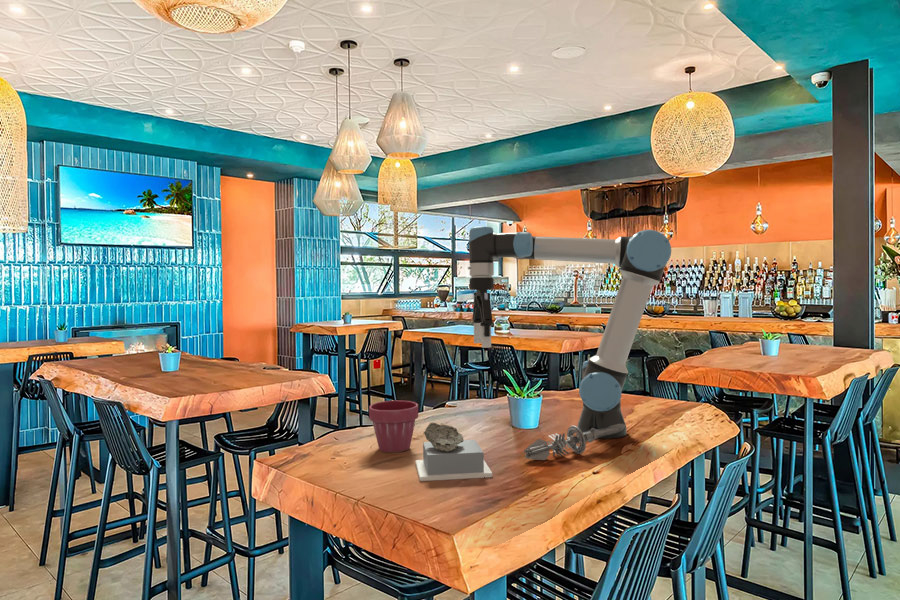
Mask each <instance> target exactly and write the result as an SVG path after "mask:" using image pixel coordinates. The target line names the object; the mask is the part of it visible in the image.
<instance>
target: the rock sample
mask: <svg viewBox="0 0 900 600" xmlns="http://www.w3.org/2000/svg"><path fill="white" fill-rule="evenodd" d="M423 434H424V436H425V438H426V440H427V442H431V443H432V445H433V447H435V448H436V449H438V450H441V451H445V452H449V451H453V450H455V449H456V448H457V446H458V444H460V443H461V442H463V441H464V440H465V439H464V437H463V436H464V435H463V434H461V433H460V432H459V431H458V428H457V427H454V426H452V425H447V424H439V423H438V422H437V423H436V422H433V421H432V422H430V423H429V424H428V425H427V426H426V428H425V429H424V431H423Z"/></svg>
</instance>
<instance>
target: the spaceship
mask: <svg viewBox="0 0 900 600" xmlns="http://www.w3.org/2000/svg"><path fill="white" fill-rule="evenodd" d="M625 424H626V423H625ZM625 424H616V425H612V426H610V427H608V428H603V429H595V428H591V430H590V431H588V432H583V433H582V431H581V430H580V429H579V428H578V425H577V426H576V425H570V426H569V427H568V428H567V432H566V433H562V434H558V433H557V432H556V433H555V434H554V433H553V434H551V435H550V434H549V435H548V437H549V438H551V439H552V440H550V441H546V440H544V439H542V438H538V439H536V440H535V441H534V442H532V443H531V444H529V445H528V446H527V447H526V448H525V449H523V453H524V458H525V459H528V460H529V459H531V460H535V461H536V460H539V461H546V460H547V458H549V456H550V455H551V453H550V450H552V456H553V457H554V456H555V455H559V456H560V457H563V455H564V456H567V455H570V452H568V451H567V450H568V448H569V449H570V448H571V450H572V451H573V452H574V453H576V454H579V455H582V454H583V453H584V452H585V450H586V447H587V445H586V443H587V442H588V443H589V444H590V443H593V441H594V440H597V439H599V438H598V437H601V436H605V435H610V434H613V433H617V432H620V431H621V430H623V429H624V428H625ZM565 435H566V437H565ZM565 438H566V439H565Z"/></svg>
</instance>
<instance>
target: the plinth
mask: <svg viewBox="0 0 900 600" xmlns="http://www.w3.org/2000/svg"><path fill="white" fill-rule="evenodd" d="M463 440H464V441H463V442H461V443H460V444H458V446H457V448H456V449H455V450H453V451H449V452H445V451H441V450H438V449H436V448H435V447H433V445H432V443H431V442H429V441H424V442H422V448H423V449H422V455H423V456H422V459H415V467H416V471H417V475H418V479H419V481H420V482H428V481H447V480H464V479H481V478H484V477H485V478H493V476H494V475H493V472H492V470H491V469H490V466H488V464H487V462H486V461H485V459H484V457H485V456H484V454H485V453H484V451H483V450H482V448H481V446H480V445H479V443H478V442H477V441H476V439H463Z"/></svg>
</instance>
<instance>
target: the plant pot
mask: <svg viewBox="0 0 900 600" xmlns="http://www.w3.org/2000/svg"><path fill="white" fill-rule="evenodd" d="M368 410H369V411H368V415H369V416H368V417H369V420H370V421H371V422H372V425H373V428H374V429H373V430H374V433H375V438H376V442H377V445H378V449H379V451H381V452H383V453H401V452H404V451H405V452H406V451H408V450H409V449H410V448H411V443H412V439H413V434H414V429H415V423H416V419H418V418H419V404H418V403H417V402H415V401H410V400H402V399H401V400H398V399H396V400H385V401H379V402H375V403H371V404H370V405H369V407H368Z"/></svg>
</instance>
